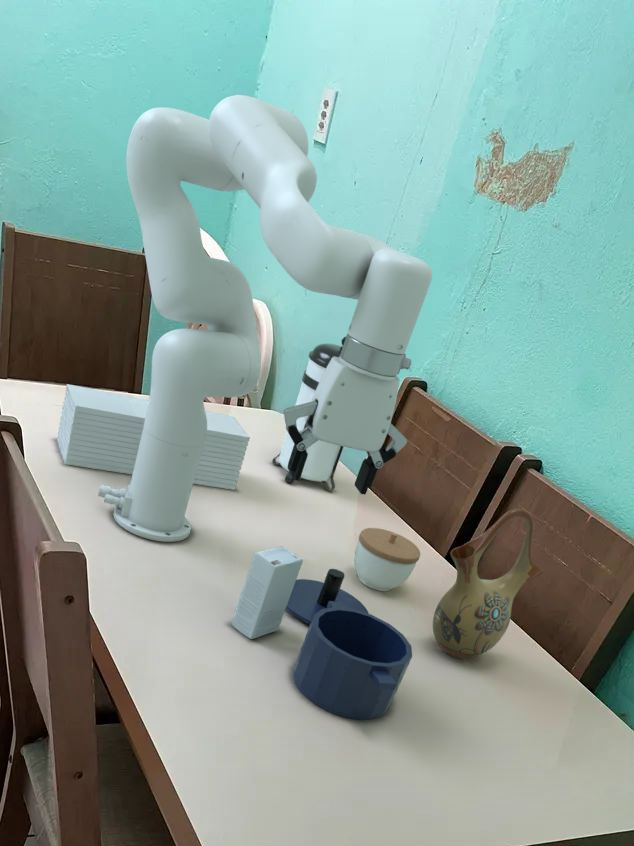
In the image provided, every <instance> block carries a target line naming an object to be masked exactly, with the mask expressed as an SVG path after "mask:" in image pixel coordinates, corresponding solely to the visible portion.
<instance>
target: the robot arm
mask: <svg viewBox="0 0 634 846" xmlns="http://www.w3.org/2000/svg"><path fill="white" fill-rule="evenodd" d="M308 155H309V137H308V133H307V131H306V129H305V126H304V125H303V123H302V121H301V120H300V119H299V118H298V117H297V116H296V115H295V114H293V113H292V112H291V111H288V110H287V109H283V108H281V107H279V106H276V105H274V104H271V103H269V102H266V101H264V100H261V99H258V98H257V97H253V96H249V95H244V94H234V95H230V96H227V97H225V98H223V99H221V100H220V101H219V102H218V103H216V105H215V106H214V108H213V109H212V111H211V113H210V115H209V119H208V118H205V117H204V116H203V117H202V116H199V115H197V114H195V113H191V112H189V111H185V110H182V109H178V108H175V107H174V108H173V107H165V106H164V107H162V106H161V107H153V108H150V109H148V110H146V111H144V112H143V113H141V115H140V116H139V117H138V118H137V120H136V121H135V123H134V125H133V126H132V130H131V132H130V135H129V137H128V142H127V146H126V159H125V163H126V164H125V165H126V166H125V168H126V175H127V183H128V188H129V191H130V194H131V198H132V201H133V204H134V207H135V210H136V214H137V217H138V218H137V219H138V220H139V225H140V230H141V236H142V244H143V250H144V257H145V262H146V268H147V275H148V280H149V287H150V294H151V297H152V301H153V305H154V307H155V309H156V312H157V313H158V314H159V315H160V316H162V317H163V318H164V319H166V320H170V321H174V322H178V323H179V322H180V323H187V324H196V325H204V326H206V328H207V329H199V328H176V329H172V330H170V331H168V332H166V333H164V334H163V335H161V337H159V339H157V341H156V344H154V348H153V350H152V356H151V369H150V370H151V371H150V372H151V373H150V374H151V376H150V391H149V398H148V400H149V403H148V408H147V413H146V417H145V422H144V427H143V431H142V436H141V440H140V444H139V449H138V453H137V457H136V462H135V466H134V470H133V475H132V474H131V480H130V484H128V485H127V488H122V487H121V488H120V489H118V488H115V487H112V486H108V485H106V484H100V486H99V491H98V497H101V498H104V501H103V503H104V504H109V505H115V507H114V510H113V518H114V520H115V522H116V523H117V525H119V526H120V527H121V528H123V529H124V530H126V531H127V532H129V533H131V534H133V535H135V536H138V537H141V538H143V539H147V540H151V541H156V542H164V543H173V542H181V541H183V540H185V539H187V538H188V537H189V536H190V533H191V530H192V524H191V522H190V521H189V520H188V518H187V517H186V516H185V515H186V512H187V508H188V505H189V501H190V497H191V493H192V490H193V485H194V484H193V482H194V478H195V475H196V471H197V467H198V464H199V460H200V456H201V452H202V449H203V445H204V441H205V437H206V432H207V417H206V413H205V411H206V409H205V403H204V402H205V398H239V397H244V396H246V395H248V394H250V393H251V392H252V391H254V389H255V387H257V385H258V383H259V379H260V376H261V371H262V357H261V348H260V347H261V346H260V342H259V341H260V340H259V334H258V328H257V321H256V314H255V306H254V299H253V293H252V290H251V287H250V284H249V281H248V279H247V277H246V275H245V274H244V273H243V271H242V270H241V268H239V267H238V266H237V265H236V264H234V263H233V262H230V261H227V260H224V259H220V258H216V257H215V258H214V257H210V256H209V255H207V254H206V251H205V248H204V245H203V240H202V234H201V225H200V221H199V218H198V215H197V212H196V210H195V208H194V206H193V204H192V202H191V200H190V198H188V195H187V194H186V193H185V191H184V189H183V188H182V185H181V182H185V183H188V184H192V185H195V186H198V187H202V188H207V189H210V190H214V191H219V192H239V191H245V192H246V193H247V194H248V196H249V197H250V198H251V199H252V200H253V202H254V203H255V204H256V206H257V207H258V209H260V210H259V221H260V228H261V234H262V238H263V241H264V243H265V245H266V247H267V249H268V250H269V251H270V253H271V254H272V256H273V257H274V258H275V259H276V261H277V262H278V263H279V264H280V266H281V267H282V268H283V269H284V270H285V272H286V273H287V274H288V275H289V276H290V277H291V279H292V280H294V281H295V283H297V284H298V285H300V286H301V287H302V288H304V289H305V290H308V291H310V292H313V293H317V294H323V295H330V296H337V297H340V298H346V299H351V300H352V299H353V300H357V303H356V306H355V309H354V312H353V316H352V318H351V321H350V323H349V327H348V330H347V333H346V336H345V337H346V339H345V342H344V345H342V347H343V348H342V351H341V354H340V357H332V359H331V361H330V362H329V364H328V366H327V368H326V370H325V372H324V373H323V376H322V378H321V380H320V382H319V384H318V386H317V388H316V391H315V393H314V396H313V398H312V401H311V402H308V403H304V404H300V405H296V406H295V405H293V406H289V407H285V408H284V409H283V419H284V423H285V429H286V432H287V431H288V433H289V435H290V437H291V439H292V441H293V442H294V447H293V450H292V453H291V456H290V459H289V462H288V470H289V473H290V474H291V476H292V478H293V480H294V481H297V482H298V481H300V480H301V474H302V471H303V468H304V465H305V462H306V459H307V456H308V453H307V451H306V449H307V448H308V447H310V446H311V445H312V444H314V443H315V442H317V441H318V440H320V441H323V442H327V443H331V444H335V445H339V446H344V447H343V448H349V449H352V450H357V451H362V452H366V455H367V458H364V459H363V460H362V462H361V465H360V468H359V470H358V473H357V476H356V479H355V481H354V486H355V488H356V490H357V491H358V492H359V494H360V495H363V496H365V495H367V493H368V490H369V488H371V487H372V485H373V483H374V480H375V477H376V475H377V471H378V470H379V469H381V468H382V467H383V466H384V464H386V463H387V462H390V461H391V460H393V459H394V458H396V455H397V454H398V453H399V452H400V451H401V450H402V449H403V448H404V447H405V446H406V445H408V439H407V438H406V437H405V436H404V435H403V433H401V432H400V431H399V430H398V428H396V427H395V426H394V425H393V424H392V419H393V416H394V412H395V408H396V403H397V399H398V393H399V387H400V378H399V377H398V375H400V372H401V370H409V369H411V365H412V358H408V357H407V355H406V351H407V348H408V346H409V343H410V340H411V337H412V335H413V332H414V329H415V327H416V323H417V321H418V318H419V316H420V312H421V311H422V307H423V305H424V303H425V300H426V297H427V294H428V290H429V288H430V286H431V282H432V279H433V270H432V268H431V266H430V265H429V264H428V263H427V262H426V261H423V260H422V259H420V258H417V257H416V256H412V255H410V254H407V253H404V252H401V251H398V250H395V249H394V248H392V247H391V246H390V245H388V244H386V243H385V242H384V241H382V240H381V239H379V238H377V237H375V236H372V235H369V234H365V233H361V232H357V231H355V230H351V229H347V228H343V227H339V226H334V225H331V224H328V223H327V222H326V221H325V220H324V219H323V218H322V217H321V216H320V215H319V214H318V213H317V212H316V211H315V209H314V208H313V207H312V206H311V204H310V203H309V202H310V201H311V199H312V197H313V195H314V193H315V191H316V187H317V181H318V175H317V171H316V167H315V165H314V163H313V162H312V161H311V159H309V157H308ZM305 416H306V418H305V425H306V426H307V427H306V428H304V429H303V430H301V431H300V432H299V431H298V429H297V425H296V421H297V419H298V418H301V417H305ZM387 435H388V436H389V437H390V438H391V441H390V442H389V444H388V445H386V446H384V447H383V445H384V444H385V440H386V438H387Z"/></svg>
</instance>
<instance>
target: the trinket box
mask: <svg viewBox="0 0 634 846" xmlns="http://www.w3.org/2000/svg"><path fill="white" fill-rule="evenodd" d="M420 557H421V551H420V549H419V547H418V546H417V545H416V544H415V543H414V542H412V541H411V540H410V539H408V538H406V537H405V536H403V535H401V534H398V533H396V532H393V531H391V530H387V529H384V528H379V527H378V528H377V527H367V528H364V529H363V530H361V531H360V533H359V536H358V540H357V544H356V546H355V550H354V555H353V564H354V568H355V569H354V570H355V572H356V574H357V575H358V580H359V582H361V584H363V585H364V586H366V587H368V588H369V589H372V590H375V591H379V592H389V591H391V590H392V589H395V588H398V587H399V586H401V585H402V584H404V583H405V582H406V581H407V580H408V579H409V577H410V576H411V575H412V573H413V571H414V569H415V568H416V565H417V562H418V561H419V559H420Z"/></svg>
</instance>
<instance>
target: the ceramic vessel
mask: <svg viewBox="0 0 634 846" xmlns="http://www.w3.org/2000/svg"><path fill="white" fill-rule="evenodd" d="M517 517H519V518H523V519H524V520H525V524H526V525H525V533H524V538H523V542H522V546H521V549H520V551H519V553H518V556H517V559H516V561H515V563H514V564H513V565H512V567H511V568H510V570H509V571H507V573H505V574H504V575H502V576H500V577H498V578H495V579H486V578H485V579H483V578H480V577H479V574H478V565H479V562H480V559H481V558H482V555H483V554H484V552H485V550H487V548H488V546H489V545H490V543H491V542H492V540H493V539H494V538H495V537H496V535H497V534H498V533H499V531H500V530H501V529H502V528H503V526H505V525H506V523H507V522H509V520H511V519H513V518H517ZM534 529H535V520H534V517H533V515H532V513H531V512H530V511H528V510H525V509H524V508H515V509H511V510H508V511H507V512H505V513H503V515H501V516H500V517H499V518H498V519H497V520H496V521H495V522H494V523H493V524H492V525H491V526H490V527H489V528H488V529H486V530H485V531H484V532H482V533H481V534H480V535H478V536H477V537H475V538H473V539H471V540H470V541H468V542H466V543H463V544H462V545H460V546H455V547H454V548H452V549H451V550H450V552H449V555H450V558H451V559H452V561H453V563H454V566H455V568H456V578H455V579H456V580H455V582H454V584H453V585H452V586H451V587H450V588H449V589H448V590H447V591H446V592H445V593H444V595H443V596H442V597H441V598H440V599H439V602H438V604H437V606H436V608H435V611H434V613H433V618H432V632H433V637H434V639H435V642H436V644H437V645H438V647H439V648H440V650H442V651H443V653H445V654H447V655H449V656H451V657H454V658H456V659H465V660H466V659H472V658H475V657H478V656H481V655H483V654H485V653H486V652H488V651H490V650H491V649H493V647H495V646H496V645H497V644H498V643H499V641H501V639H502V638H503V636H505V634H506V631H507V630H508V627H509V625H510V622H511V618H512V609H513V602H514V599H515V597H516V596H517V594H518V592H519V591H520V589H522V587H523V586H524V585H525V584H527V583H528V582H530V581H532V580H533V579H535V578H536V577H538V576H541V575H542V574H544V573H545V572H544V570H543V569H542V568H541V567H540V566H539V565H537V564H536V562H534V560H533V559H532V545H533V537H534Z"/></svg>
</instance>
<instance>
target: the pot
mask: <svg viewBox="0 0 634 846" xmlns="http://www.w3.org/2000/svg"><path fill="white" fill-rule="evenodd" d="M368 613H369V612H368ZM368 613H365V612H362V611H358V610H355V609H349V608H347V607H346V605H345V604H344V603H342V602H334V601H329V602H328V604H327V608H326V609H321V610H320V611H319V612H317V613H316V614H315V615H314V616H313V618H312V621H311V624H309V627H308V629H307V632H306V634H305V637H304V641H303V643H302V645H301V648H300V651H299V654H298V656H297V659H296V661H295V665H294V669H293V675H292V677H293V681H294V683H295V685H296V687H297V689H298V691H300V693H301V694H302V695H303V696H304V697H305V698H306V699H307V700H309V701H310V702H311V703H313V704H314V705H315V706H317V707H319V708H321V709H323V710H325V711H326V712H329V713H332V714H334V715H336V716H339V717H342V718H346V719H347V718H348V719H352V720H372V719H377V718H379V717H381V716H383V715H384V714H385V713H386V712H387V711H388V709H389V708H390V706H392V702H393V701H394V698H395V697H396V694H397V691H398V690H399V688H400V686H401V682H402V680H403V678H404V676H405V674H406V671H407V670H408V668H409V665H410V663H411V660H412V658H413V649H412V645H411V644H410V642H409V640H408V639H407V638H406V636H405V635H404V634H403V633H402V632H401V631H400V630H398V629H397V628H396V627H394V626H393V625H392V624H390V623H389V622H387V621H385V620H383V619H381V618H379V617H378V616H375V615H373V614H371V613H369V614H368Z"/></svg>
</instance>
